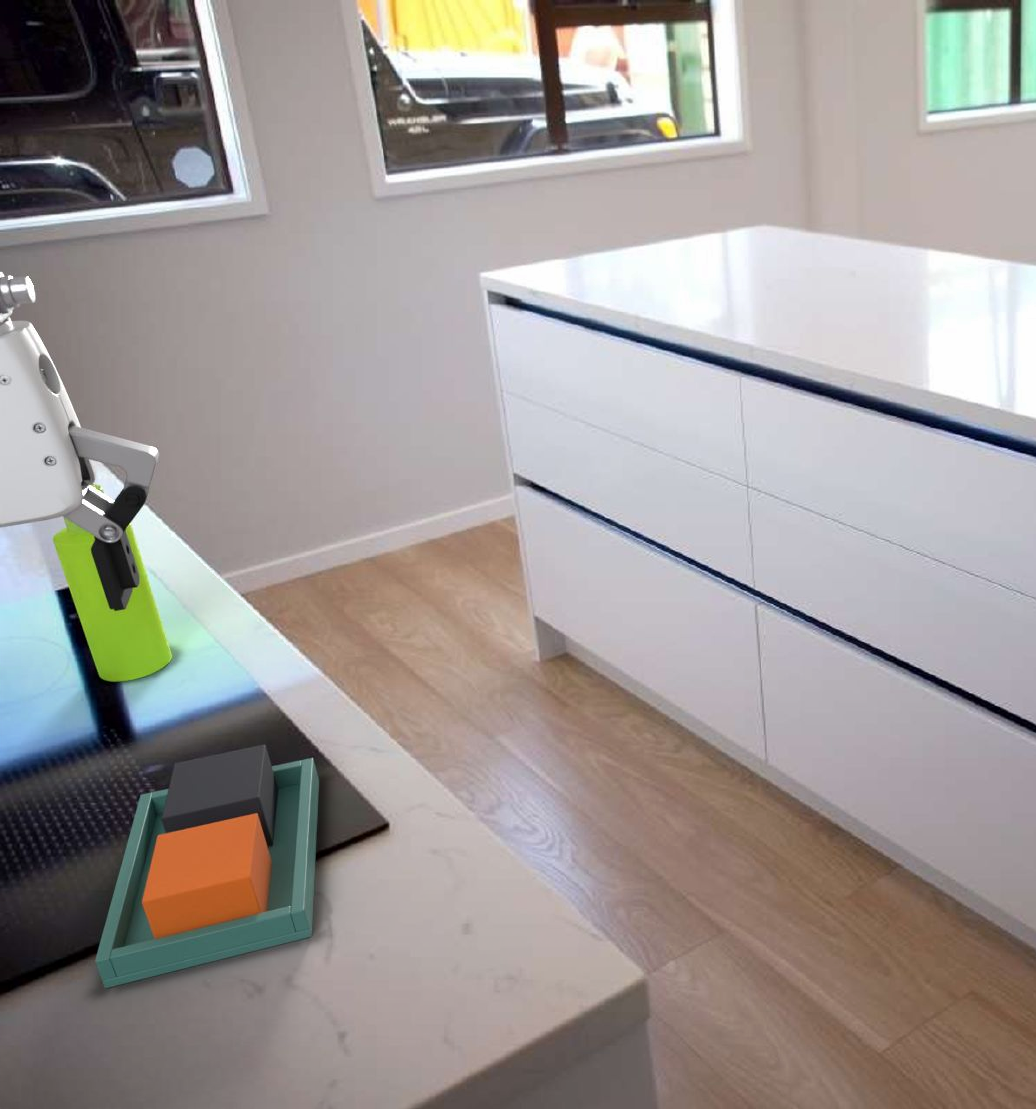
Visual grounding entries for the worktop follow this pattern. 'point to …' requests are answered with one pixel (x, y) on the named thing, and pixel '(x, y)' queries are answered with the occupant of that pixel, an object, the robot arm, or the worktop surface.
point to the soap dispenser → (113, 636)
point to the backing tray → (287, 919)
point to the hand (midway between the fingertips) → (27, 617)
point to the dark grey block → (222, 791)
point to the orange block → (207, 876)
